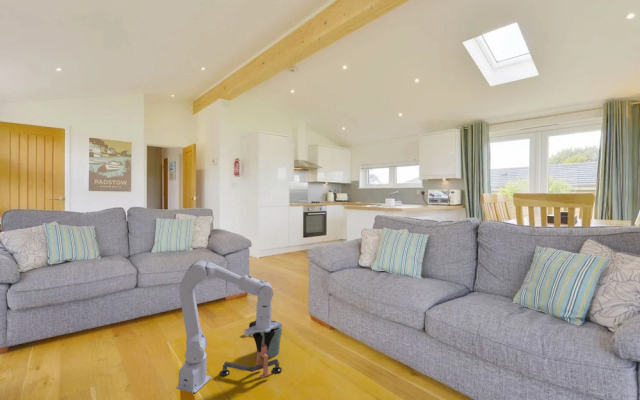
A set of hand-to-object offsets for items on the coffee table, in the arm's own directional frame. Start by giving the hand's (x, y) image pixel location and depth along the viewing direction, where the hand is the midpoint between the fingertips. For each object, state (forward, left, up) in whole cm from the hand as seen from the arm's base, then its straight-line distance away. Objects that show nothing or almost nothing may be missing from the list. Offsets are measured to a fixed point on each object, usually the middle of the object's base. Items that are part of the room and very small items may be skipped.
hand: (262, 350), depth 117 cm
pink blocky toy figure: (0, 0, -8) cm, 8 cm away
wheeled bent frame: (+1, +5, -10) cm, 11 cm away
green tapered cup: (+17, +4, -10) cm, 20 cm away
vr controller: (+34, +17, -10) cm, 40 cm away
